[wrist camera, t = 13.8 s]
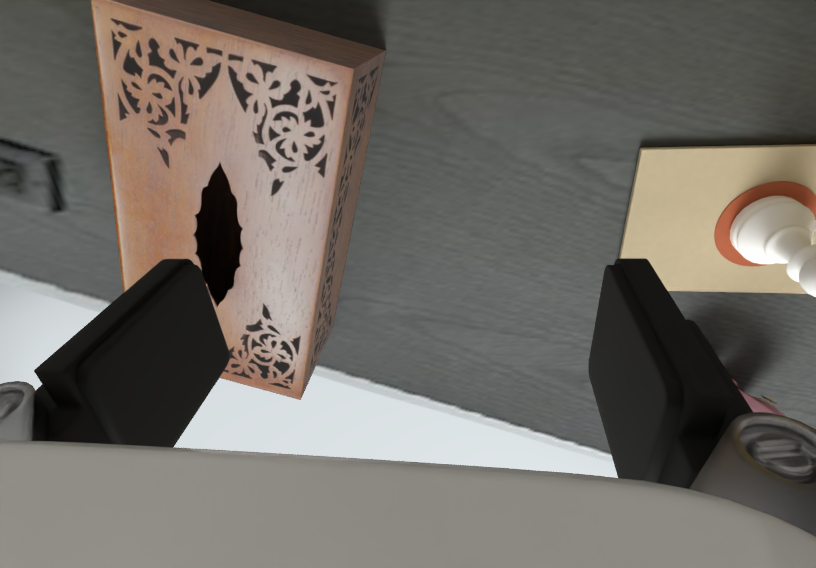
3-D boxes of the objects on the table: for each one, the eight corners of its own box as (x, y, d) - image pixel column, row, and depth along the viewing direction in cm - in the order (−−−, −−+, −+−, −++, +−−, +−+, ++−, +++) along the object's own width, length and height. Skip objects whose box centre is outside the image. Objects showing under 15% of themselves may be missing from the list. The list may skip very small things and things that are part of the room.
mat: (639, 147, 35) (642, 149, 34) (954, 141, 32) (962, 143, 31) (612, 286, 41) (614, 290, 40) (874, 292, 38) (879, 295, 37)
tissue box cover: (332, 327, 47) (300, 399, 39) (193, 289, 47) (130, 353, 39) (386, 50, 34) (354, 69, 25) (189, -5, 33) (90, -6, 25)
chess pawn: (771, 263, 37) (845, 332, 30) (713, 242, 37) (774, 306, 29) (820, 208, 35) (916, 268, 27) (758, 184, 34) (838, 238, 27)
